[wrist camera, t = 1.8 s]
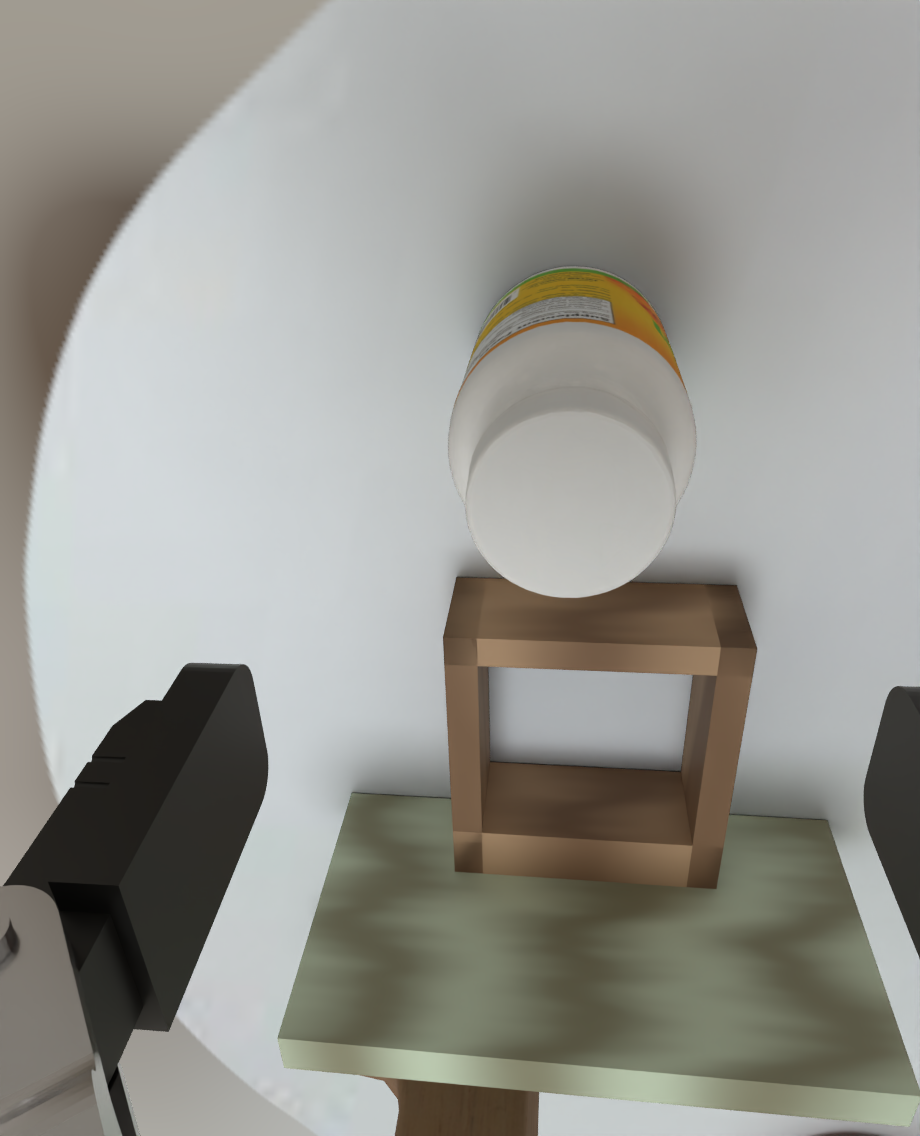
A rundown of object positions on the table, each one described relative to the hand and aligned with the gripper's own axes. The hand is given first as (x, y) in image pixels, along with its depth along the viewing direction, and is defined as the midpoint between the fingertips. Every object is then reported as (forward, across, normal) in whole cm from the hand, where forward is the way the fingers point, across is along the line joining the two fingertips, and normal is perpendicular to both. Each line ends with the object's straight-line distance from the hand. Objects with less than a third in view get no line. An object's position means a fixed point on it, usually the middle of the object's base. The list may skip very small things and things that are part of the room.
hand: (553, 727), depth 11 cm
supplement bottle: (+16, 0, 0) cm, 16 cm away
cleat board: (+16, -1, +13) cm, 20 cm away
